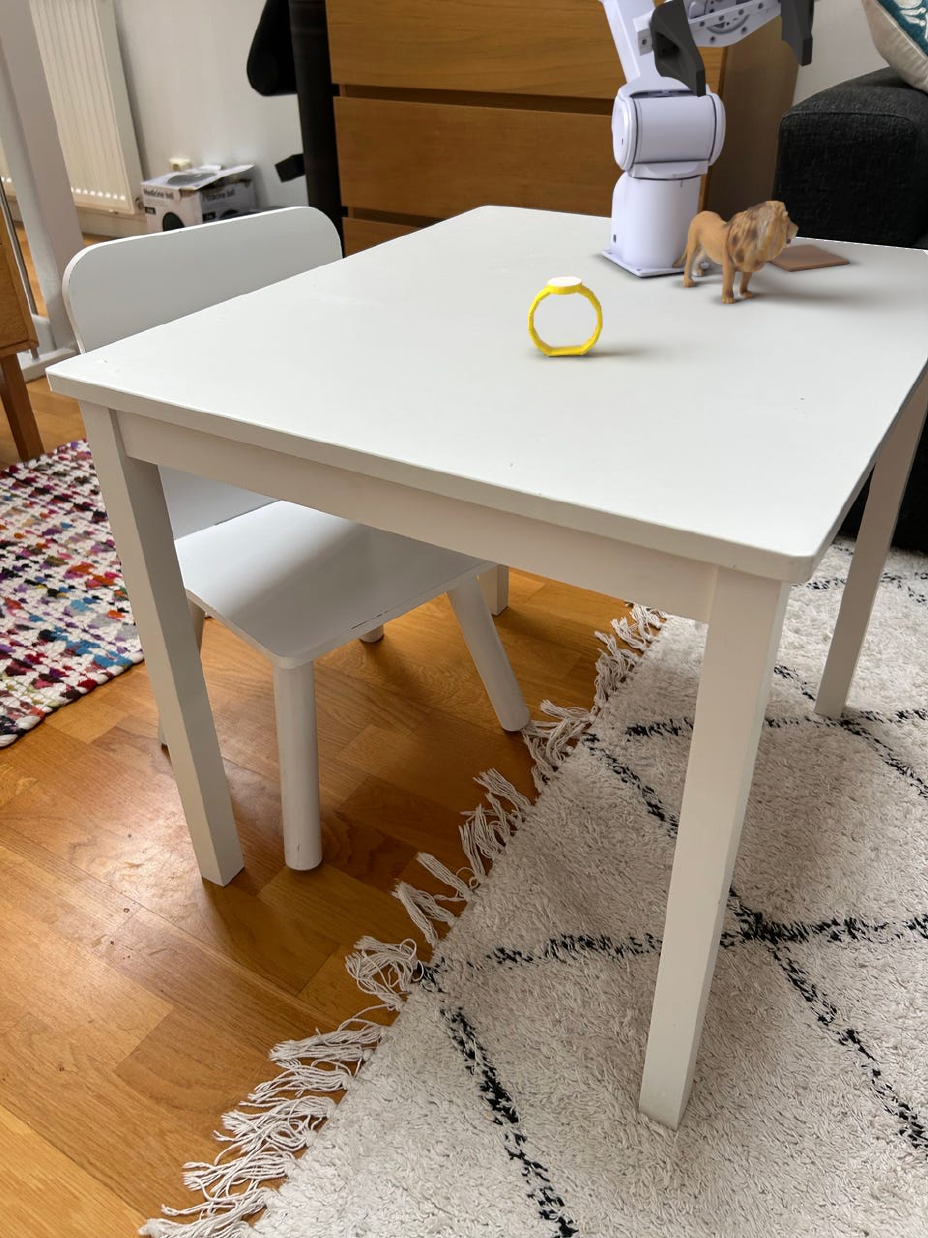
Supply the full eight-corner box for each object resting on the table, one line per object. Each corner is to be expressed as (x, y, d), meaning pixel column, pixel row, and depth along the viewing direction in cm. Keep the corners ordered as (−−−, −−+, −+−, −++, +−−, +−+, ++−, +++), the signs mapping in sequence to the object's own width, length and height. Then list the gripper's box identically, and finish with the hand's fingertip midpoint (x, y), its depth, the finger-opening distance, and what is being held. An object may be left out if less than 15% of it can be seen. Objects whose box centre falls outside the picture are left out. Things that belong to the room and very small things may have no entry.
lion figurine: (794, 304, 89) (812, 200, 83) (753, 315, 86) (767, 209, 81) (686, 269, 99) (695, 175, 94) (646, 278, 97) (653, 182, 92)
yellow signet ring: (601, 348, 80) (604, 275, 77) (600, 360, 78) (604, 285, 75) (529, 347, 81) (530, 275, 77) (527, 359, 79) (527, 285, 75)
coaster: (752, 254, 102) (752, 251, 102) (809, 247, 104) (810, 244, 104) (789, 271, 97) (789, 268, 97) (849, 263, 98) (849, 260, 98)
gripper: (618, -50, 75) (650, 44, 68) (808, -113, 73) (860, -20, 66) (628, 38, 81) (658, 134, 74) (804, -17, 79) (852, 77, 72)
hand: (753, 68), depth 71 cm, fingers open, 7 cm apart
